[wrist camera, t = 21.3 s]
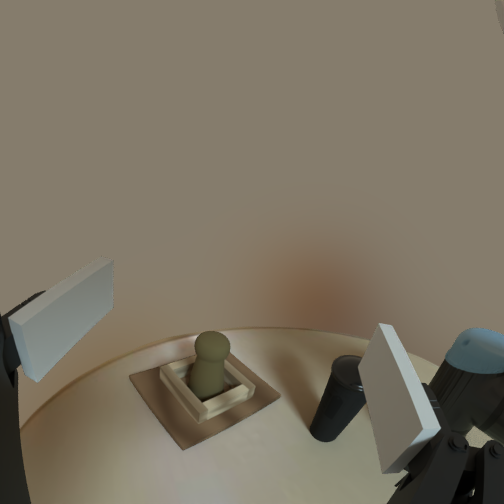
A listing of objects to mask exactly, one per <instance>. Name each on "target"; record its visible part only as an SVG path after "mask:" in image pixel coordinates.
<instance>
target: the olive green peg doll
mask: <svg viewBox="0 0 504 504" xmlns="http://www.w3.org/2000/svg"><path fill="white" fill-rule="evenodd" d="M194 347H195V352H196V354H197V356H196V359H195V363H194V366H193V369H192V372H191V376H190V379H189V382H188V386H187V387H188V388H189V389H190V390H191V391H192V392H193V394H194V395H195V396H196V397H197V398H198V399H199V400H200V401H202V402H205V401H208V400H210V399H212V398H214V397H216V396H219V395H221V394H223V392H224V362H225V359H226V358H227V356H228V355H229V352H230V343H229V340H228V339H227V337H226V336H225V335H223V334H221V333H219V332H215V331H207V332H203V333H201V334H200V335H199V336H198V337H197V339H196V341H195V346H194Z"/></svg>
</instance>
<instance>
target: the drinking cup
mask: <svg viewBox="0 0 504 504" xmlns="http://www.w3.org/2000/svg"><path fill="white" fill-rule="evenodd" d="M361 360H362V357H358V356H354V355H344V356H340V357H338V358H336V359H335V360H334V362H333V364H332V367H331V371H332V372H331V375H330V377H329V380H328V383H327V386H326V388H325V391H324V394H323V396H322V399H321V401H320V404H319V407H318V409H317V412H316V414H315V417H314V419H313V421H312V424H311V426H310V432H311V434H312V436H313V437H314V438H316V439H317V440H319V441H322V442H330V441H333V440H334V439H336V437H337V436H338V435H339V434H340V433H341V432H342V431H343V430H344V428H345V427H346V426H347V425H348V424H349V423H350V421H351V420H352V419H353V418H354V417H355V416H356V414H357V413H358V412H359V411H360V409H361V408H362V407H363V406H364V404H365V403H366V402H367V401H366V397H365V393H364V389H363V385H362V381H361V377H360V374H359V370H358V366H359V364H360V362H361Z"/></svg>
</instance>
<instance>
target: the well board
mask: <svg viewBox="0 0 504 504" xmlns="http://www.w3.org/2000/svg"><path fill="white" fill-rule="evenodd" d="M196 356H197V355H194V356H191V357H188V358H185V359H182V360H179V361H176V362H173V363H169V364H166V365H163V366H160V367H157V368H154V369H150V370H147V371H144V372H140V373H137V374H134V375H130V376H129V378H130V380H131V382H132V383H133V385H134V386H135V388H136V389H137V391H138V392H139V394H140V395H141V397H142V398H143V400H144V401H145V402H146V404H147V405H148V407H149V408H150V409H151V411H152V412H153V414H154V415H155V416H156V418H157V419H158V420H159V422H160V423H161V424H162V426H163V427H164V428H165V429H166V431H167V432H168V433H169V435H170V436H171V437H172V438H173V440H174V441H175V442H176V443H177V444H178V446H179V447H180V448H181V449H182V450H185V449H187V448H189V447H191V446H194V445H196V444H198V443H200V442H202V441H204V440H206V439H208V438H210V437H212V436H214V435H216V434H218V433H220V432H221V431H223V430H225V429H227V428H229V427H231V426H233V425H235V424H236V423H238V422H240V421H242V420H244V419H245V418H247V417H249V416H251V415H252V414H254V413H256V412H257V411H259V410H261V409H262V408H264V407H266V406H267V405H269V404H271V403H272V402H274V401H276V400H277V399H279V398H280V396H281V394H280V393H278V392H277V391H276V390H274V389H273V388H272V387H271V386H269V385H268V384H267V383H266V382H265V381H263V380H262V379H261V378H260V377H258V376H257V375H256V374H255V373H254V372H252V371H251V370H250V369H249V368H248V367H246V366H245V365H244V364H243V363H242V362H241V361H239V360H238V359H237V358H236V357H235V356H234V355H232V354H231V353H230V352H229V355H228V356H227V358H226V359H225V362H224V392H223V394H221V395H219V396H216V397H214V398H212V399H210V400H208V401H205V402H202V401H200V400H199V399H198V398H197V397H196V396H195V395H194V394H193V392H192V391H191V390H190V389H189V388H188V387H187V386H188V382H189V379H190V376H191V372H192V369H193V366H194V363H195V359H196Z"/></svg>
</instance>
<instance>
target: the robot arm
mask: <svg viewBox="0 0 504 504" xmlns="http://www.w3.org/2000/svg"><path fill="white" fill-rule="evenodd" d="M495 4H496V11H497V15H498V19H499V23H500V26H501V28H502V31H503V33H504V0H495ZM113 262H114V261H113V260H112V259H109V258H105V257H102V256H101V257H99V258H98V259H96V260H94V261H93V262H91V263H89V264H88V265H86V266H85V267H83V268H81V269H80V270H78V271H77V272H75V273H73V274H72V275H70V276H69V277H67V278H66V279H64V280H63V281H61V282H59V283H58V284H57V285H55V286H53V287H52V288H51V289H49V290H47V291H42V292H39V293H37V294H34V295H33V296H31V297H30V298H28V300H25V301H24V302H22V303H21V304H19V305H18V306H16V307H15V308H13V309H12V310H11V311H9V312H8V313H6V314H5V315H3V316H2V317H1V314H0V504H31V501H30V496H29V492H28V487H27V482H26V477H25V471H24V464H23V457H22V449H21V440H20V429H19V412H18V372H17V369H16V368H17V367H18V366H19V365H20V364H21V365H22V368H23V371H24V374H25V375H26V376H28V377H29V378H31V379H33V380H34V381H35V382H37V383H38V382H39V381H40V380H41V379H42V378H43V377H44V376H45V375H46V374H47V373H48V372H49V370H51V369H52V368H53V366H54V365H55V364H56V363H57V362H58V361H59V360H60V359H61V358H62V357H63V356H64V355H65V354H66V353H67V352H68V351H69V350H70V349H71V348H72V347H73V346H74V345H75V344H76V343H77V342H78V341H79V340H80V339H81V338H82V337H83V336H84V335H85V334H86V333H87V332H88V331H89V330H90V329H91V328H92V327H94V326H95V324H97V323H98V322H99V321H100V320H101V319H102V318H103V317H104V316H105V315H106V314H107V313H108V312H109V311H110V310H111V309H112V308H113V307H114V304H113ZM358 370H359V374H360V377H361V381H362V385H363V389H364V393H365V397H366V401H367V405H368V409H369V414H370V418H371V422H372V427H373V431H374V436H375V440H376V445H377V450H378V455H379V460H380V465H381V470H382V474H388V473H399V472H400V471H402V470H403V469H405V470H407V471H409V473H408V474H407V475H405V476H404V477H403V478H402V479H401V480H400V481H399V482H398V483H397V484H396V485H395V487H397V486H398V485H399V484H400V485H399V486H398V488H397V489H396V491H395V492H394V494H393V495H392V497H391V498H390V500H389V501H388V503H387V504H504V335H503V334H500V333H498V332H495V331H492V330H488V329H484V328H470V329H467V330H465V331H463V332H462V333H461V334H460V335H459V336H458V337H457V339H456V340H455V342H454V344H453V345H452V347H451V349H450V350H448V352H447V353H446V355H445V359H444V361H443V363H442V364H441V366H440V368H439V369H438V371H437V373H436V374H435V376H434V377H433V379H432V381H431V382H430V384H429V385H427V384H426V383H421V382H420V380H419V378H418V376H417V374H416V372H415V370H414V368H413V365H412V363H411V361H410V359H409V357H408V355H407V353H406V351H405V349H404V348H403V345H402V344H401V342H400V340H399V338H398V336H397V334H396V332H395V330H394V328H393V326H392V325H386V324H381V323H379V324H378V326H377V328H376V330H375V332H374V334H373V337H372V339H371V341H370V343H369V345H368V347H367V349H366V351H365V354H364V356H363V358H362V360H361V362H360V364H359V366H358ZM473 426H475V427H476V428H478V429H479V430H481V431H482V432H484V433H485V434H487V435H488V436H489V437H491V438H492V439H494V440H490V441H487V442H486V444H485V445H484V446H483V447H482V448H477V447H471V446H469V443H468V441H467V440H466V439H465V437H466V435H467V433H468V432H469V431H470V430H471V429H472V427H473ZM474 489H475V492H474V495H473V496H472V493H473V490H474Z"/></svg>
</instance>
